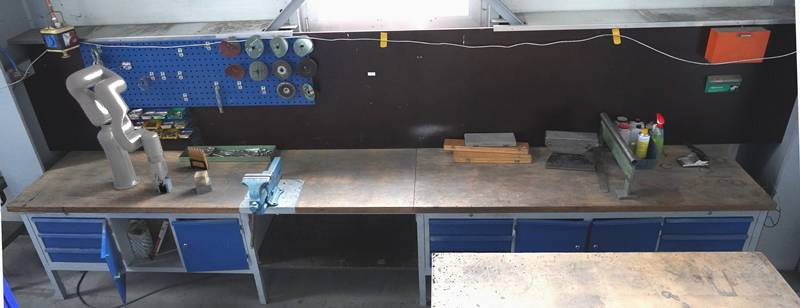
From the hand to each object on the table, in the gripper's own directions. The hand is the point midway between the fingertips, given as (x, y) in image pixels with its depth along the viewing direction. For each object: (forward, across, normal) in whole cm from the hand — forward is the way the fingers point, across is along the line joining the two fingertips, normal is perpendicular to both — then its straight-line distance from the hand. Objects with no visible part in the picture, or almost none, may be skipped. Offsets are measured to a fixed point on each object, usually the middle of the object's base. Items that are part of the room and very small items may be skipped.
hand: (165, 188), depth 270 cm
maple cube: (-3, +2, +19) cm, 20 cm away
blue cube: (+1, 0, 0) cm, 1 cm away
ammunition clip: (+1, -20, +12) cm, 23 cm away
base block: (+1, +2, +19) cm, 20 cm away
